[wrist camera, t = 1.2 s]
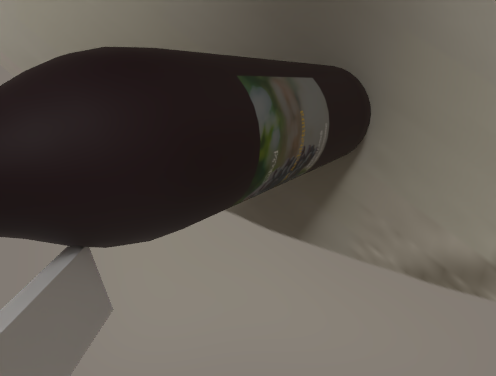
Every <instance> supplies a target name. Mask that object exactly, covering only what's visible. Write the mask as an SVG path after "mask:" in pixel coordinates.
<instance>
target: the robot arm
mask: <svg viewBox="0 0 496 376" xmlns="http://www.w3.org/2000/svg"><path fill="white" fill-rule="evenodd" d="M112 311H113V308H112V305H111V302H110V300H109V297H108V295H107V292H106V290H105V287H104V285H103V282H102V280H101V277H100V274H99V272H98V269H97V267H96V264H95V261H94V259H93V256H92V254H91V251H90V249H89V247H80V246H69V247H67V248H66V249H65V250H63V251H62V252H61V253H60V255H58V256H57V257H56V258H55V259H54V260H53V261H52V262H51V263H50V264H49V265H48V266H47V267H46V268H44V269H43V270H42V271H41V272H40V273H39V274H38V275H37V276H36V277H35V278H34V279H33V280H32V281H31V282H30V283H29V284H28V285H26V286H25V287H24V288H23V289H22V290H21V291H20V292H19V293H18V294H17V295H16V296H15V297H14V298H13V299H12V300H11V301H10V302H8V304H7V305H5V306H4V307H3V308H2V309H1V310H0V376H70V375H71V374H72V372H73V371H74V369H75V368H76V366H77V365H78V363H79V361H80V360H81V358H82V357H83V355H84V354H85V352H86V351H87V349H88V348H89V346H90V344H91V343H92V341H93V340H94V338H95V337H96V335H97V334H98V332H99V331H100V329H101V328H102V326H103V325H104V323H105V322H106V320H107V318H108V317H109V315H110V314H111V312H112Z"/></svg>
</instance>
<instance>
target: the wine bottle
mask: <svg viewBox="0 0 496 376" xmlns="http://www.w3.org/2000/svg"><path fill="white" fill-rule="evenodd" d="M370 116H371V109H370V102H369V98H368V95H367V93H366V90H365V88H364V87H363V85H362V84H361V83H360V82H359V80H358V79H357V78H356V77H355V76H353V75H352V74H351V73H350V72H348V71H346V70H344V69H342V68H338V67H335V66H327V65H317V64H307V63H297V62H287V61H277V60H268V59H258V58H248V57H238V56H228V55H218V54H209V53H199V52H189V51H179V50H169V49H159V48H137V47H101V48H96V49H91V50H85V51H80V52H75V53H69V54H66V55H63V56H59V57H56V58H54V59H52V60H49V61H47V62H45V63H42V64H40V65H38V66H36V67H33V68H31V69H29V70H26V71H24V72H22V73H21V74H19V75H17V76H16V77H14V78H12V79H11V80H10V81H7V82H6V83H4V84H2V85H1V86H0V237H10V238H23V239H29V240H36V241H42V242H48V243H54V244H61V245H67V246H80V247H103V248H106V247H114V246H120V245H126V244H133V243H139V242H146V241H151V240H154V239H156V238H159V237H162V236H165V235H167V234H170V233H173V232H176V231H178V230H181V229H184V228H185V227H188V226H190V225H192V224H194V223H197V222H199V221H201V220H203V219H206V218H208V217H210V216H212V215H214V214H217V213H219V212H221V211H223V210H225V209H228V208H230V207H232V206H234V205H236V204H239V203H241V202H243V201H245V200H247V199H250V198H252V197H254V196H256V195H258V194H261V193H263V192H265V191H267V190H269V189H272V188H274V187H276V186H278V185H280V184H283V183H285V182H287V181H289V180H291V179H294V178H296V177H298V176H300V175H302V174H305V173H307V172H309V171H311V170H313V169H316V168H318V167H320V166H322V165H324V164H327V163H329V162H331V161H333V160H335V159H338V158H340V157H342V156H344V155H346V154H348V153H349V152H351V151H352V150H354V149H355V148H356V147H357V145H358V144H359V143H360V142H361V141H362V139H363V137H364V136H365V134H366V131H367V129H368V126H369V122H370Z"/></svg>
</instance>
